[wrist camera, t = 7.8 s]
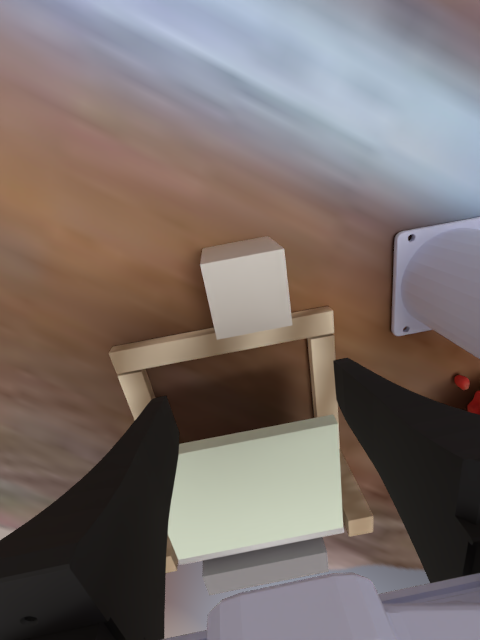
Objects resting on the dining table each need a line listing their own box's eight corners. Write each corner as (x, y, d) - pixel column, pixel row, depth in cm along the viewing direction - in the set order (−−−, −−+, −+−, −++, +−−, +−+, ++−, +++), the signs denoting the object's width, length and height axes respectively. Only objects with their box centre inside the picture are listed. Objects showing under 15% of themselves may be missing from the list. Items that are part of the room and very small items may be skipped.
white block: (267, 235, 21) (284, 248, 16) (276, 297, 22) (292, 325, 18) (202, 248, 21) (200, 264, 16) (215, 309, 22) (216, 339, 18)
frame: (328, 305, 23) (375, 352, 16) (338, 489, 31) (372, 570, 24) (112, 346, 23) (72, 410, 16) (178, 520, 31) (169, 610, 24)
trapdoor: (329, 407, 19) (342, 432, 17) (337, 536, 25) (348, 567, 23) (143, 442, 19) (135, 472, 17) (191, 565, 25) (189, 599, 23)
